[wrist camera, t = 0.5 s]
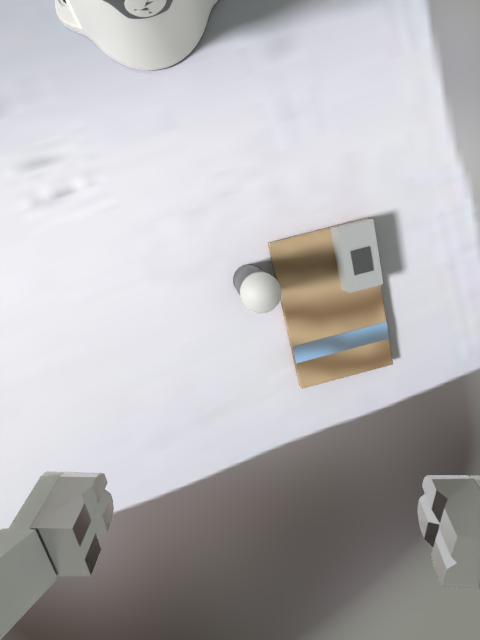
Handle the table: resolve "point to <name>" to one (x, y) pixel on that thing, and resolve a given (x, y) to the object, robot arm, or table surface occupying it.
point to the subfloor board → (327, 312)
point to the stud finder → (357, 255)
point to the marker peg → (257, 289)
